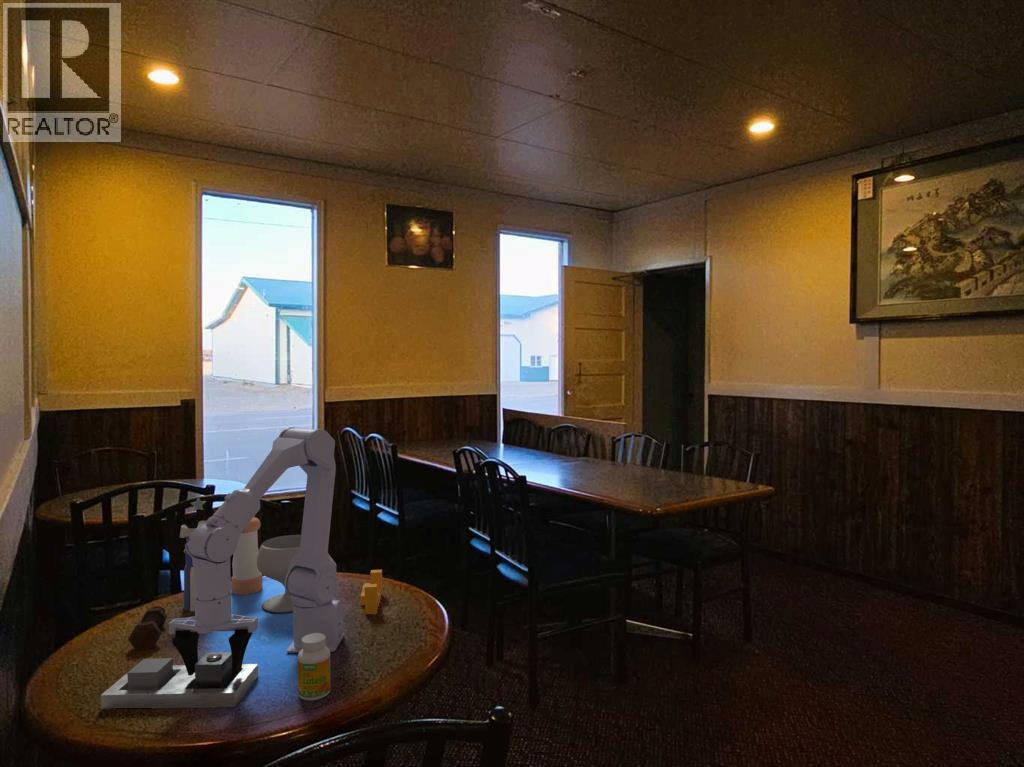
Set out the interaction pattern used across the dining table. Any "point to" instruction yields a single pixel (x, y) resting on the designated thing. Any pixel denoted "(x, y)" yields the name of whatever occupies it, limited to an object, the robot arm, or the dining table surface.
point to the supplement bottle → (314, 668)
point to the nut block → (214, 671)
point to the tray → (180, 692)
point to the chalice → (278, 567)
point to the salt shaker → (247, 561)
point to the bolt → (148, 629)
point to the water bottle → (190, 563)
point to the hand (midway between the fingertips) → (215, 672)
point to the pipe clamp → (372, 592)
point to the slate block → (150, 674)
